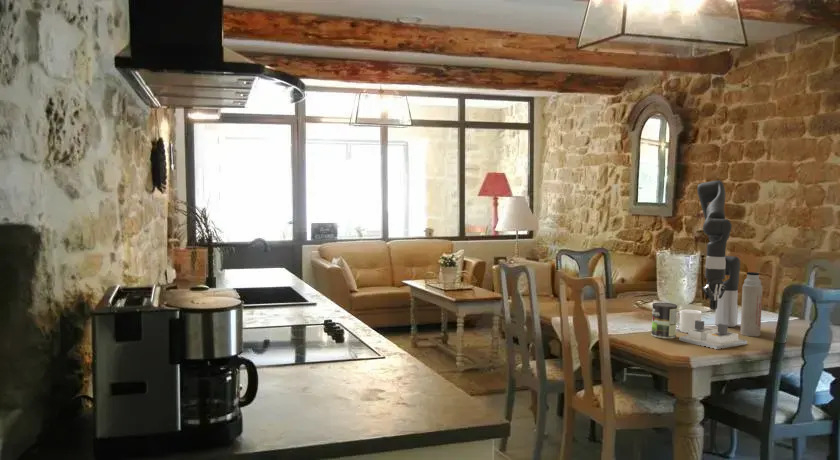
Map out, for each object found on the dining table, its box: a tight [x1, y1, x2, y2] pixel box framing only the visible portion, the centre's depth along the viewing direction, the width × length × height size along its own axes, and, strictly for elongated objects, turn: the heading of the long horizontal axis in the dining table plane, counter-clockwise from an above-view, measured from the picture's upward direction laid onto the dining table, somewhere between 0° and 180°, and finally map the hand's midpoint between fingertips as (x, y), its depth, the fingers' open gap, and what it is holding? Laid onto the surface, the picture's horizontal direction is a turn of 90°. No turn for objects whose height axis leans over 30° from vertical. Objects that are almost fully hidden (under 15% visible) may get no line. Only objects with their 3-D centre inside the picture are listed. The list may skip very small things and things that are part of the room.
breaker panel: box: [678, 326, 748, 350], centre depth 283 cm, size 20×18×5 cm
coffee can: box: [650, 301, 678, 340], centre depth 294 cm, size 10×10×14 cm
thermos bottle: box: [740, 271, 763, 337], centre depth 299 cm, size 8×8×28 cm
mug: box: [676, 309, 702, 334], centre depth 305 cm, size 12×9×9 cm
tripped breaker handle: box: [717, 323, 729, 334], centre depth 279 cm, size 2×3×4 cm, turn 30°
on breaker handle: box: [695, 320, 705, 330], centre depth 285 cm, size 2×3×4 cm, turn 30°
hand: (713, 308), depth 275 cm, fingers closed
